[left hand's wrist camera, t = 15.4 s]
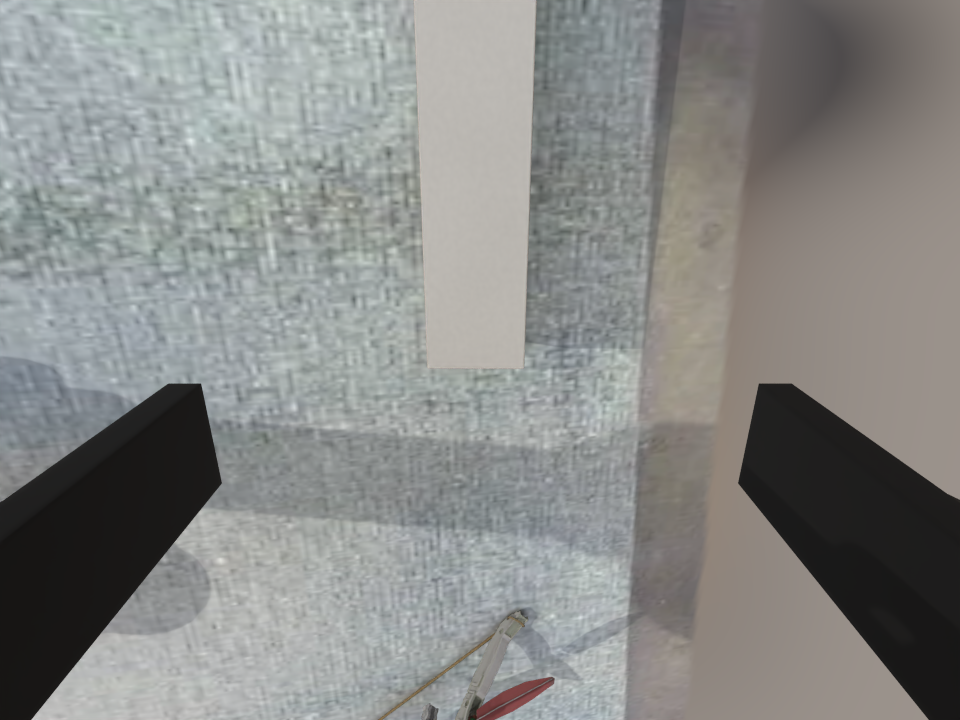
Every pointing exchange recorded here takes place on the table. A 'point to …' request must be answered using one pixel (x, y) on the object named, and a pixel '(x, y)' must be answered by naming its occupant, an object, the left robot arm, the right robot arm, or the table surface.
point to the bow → (490, 680)
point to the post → (475, 177)
